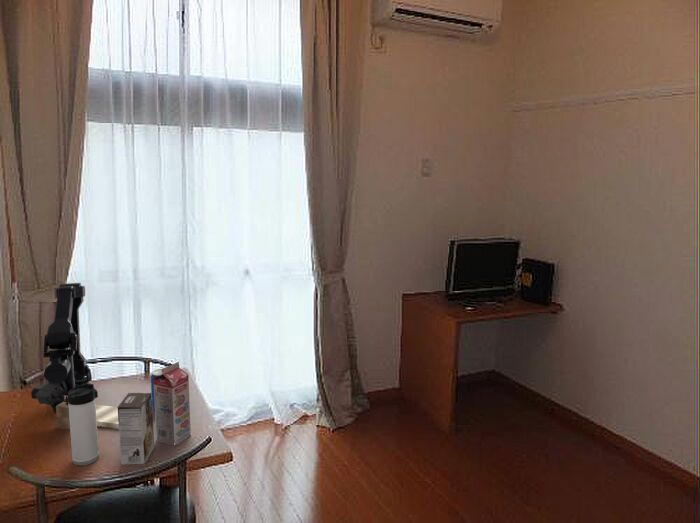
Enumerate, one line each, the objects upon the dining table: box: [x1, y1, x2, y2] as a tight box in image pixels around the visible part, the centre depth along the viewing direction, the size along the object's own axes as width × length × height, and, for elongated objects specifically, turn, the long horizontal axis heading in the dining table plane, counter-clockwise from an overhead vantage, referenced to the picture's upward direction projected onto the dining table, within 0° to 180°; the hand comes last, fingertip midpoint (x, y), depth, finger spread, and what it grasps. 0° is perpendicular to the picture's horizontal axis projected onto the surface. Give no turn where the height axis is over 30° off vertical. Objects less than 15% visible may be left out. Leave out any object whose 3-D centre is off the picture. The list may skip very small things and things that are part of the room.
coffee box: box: [116, 392, 155, 465], centre depth 140 cm, size 9×6×16 cm
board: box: [96, 404, 119, 430], centre depth 162 cm, size 22×10×2 cm, turn 77°
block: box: [55, 402, 70, 431], centre depth 160 cm, size 4×12×7 cm, turn 167°
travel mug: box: [68, 382, 100, 466], centre depth 137 cm, size 6×7×20 cm
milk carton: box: [153, 361, 192, 447], centre depth 149 cm, size 7×7×22 cm
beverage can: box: [150, 368, 162, 409], centre depth 170 cm, size 6×6×12 cm
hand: (66, 420), depth 156 cm, fingers closed on block, 4 cm apart
